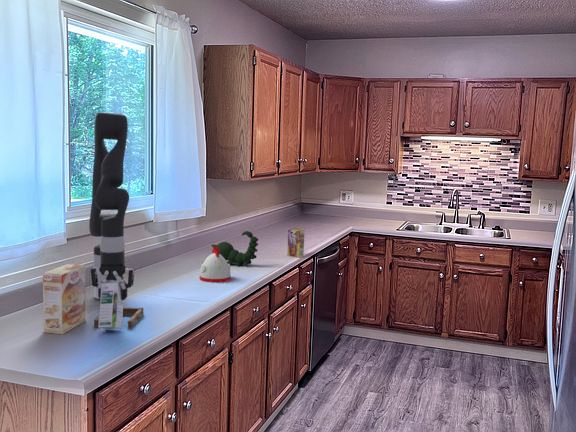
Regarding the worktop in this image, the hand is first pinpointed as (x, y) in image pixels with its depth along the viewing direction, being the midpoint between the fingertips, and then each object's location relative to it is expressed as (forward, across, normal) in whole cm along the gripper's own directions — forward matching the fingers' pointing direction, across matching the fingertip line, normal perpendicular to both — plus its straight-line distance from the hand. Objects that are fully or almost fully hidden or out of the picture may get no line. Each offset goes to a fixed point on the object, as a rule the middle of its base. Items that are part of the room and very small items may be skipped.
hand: (112, 299), depth 197 cm
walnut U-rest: (+10, 0, -7) cm, 12 cm away
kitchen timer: (+10, -24, -74) cm, 78 cm away
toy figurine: (+10, -29, -106) cm, 110 cm away
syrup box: (+9, 0, +5) cm, 10 cm away
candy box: (+10, -60, -134) cm, 147 cm away
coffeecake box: (+10, +16, 0) cm, 18 cm away
